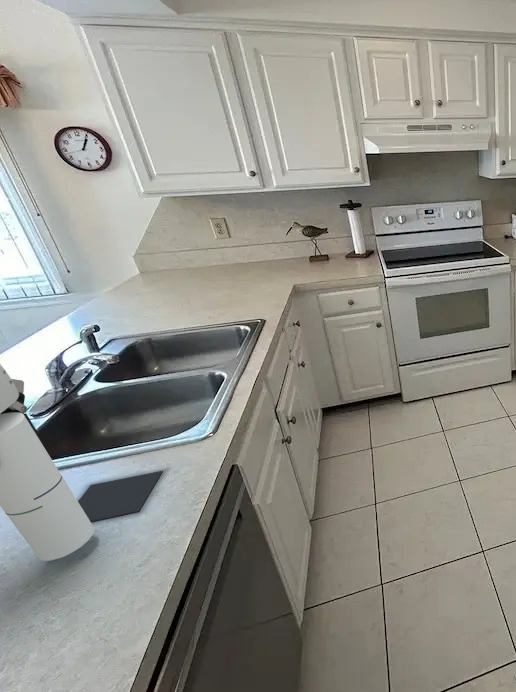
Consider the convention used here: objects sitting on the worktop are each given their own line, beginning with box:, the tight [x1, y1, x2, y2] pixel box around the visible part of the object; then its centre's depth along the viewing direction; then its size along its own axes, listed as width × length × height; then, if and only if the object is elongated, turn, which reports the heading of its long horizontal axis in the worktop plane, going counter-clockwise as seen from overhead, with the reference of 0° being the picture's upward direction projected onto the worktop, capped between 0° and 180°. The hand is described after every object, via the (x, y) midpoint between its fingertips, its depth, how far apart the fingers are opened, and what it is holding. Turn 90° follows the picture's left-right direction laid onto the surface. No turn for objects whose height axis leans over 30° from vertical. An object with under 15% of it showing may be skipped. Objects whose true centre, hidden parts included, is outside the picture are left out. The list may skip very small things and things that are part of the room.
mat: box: [77, 470, 164, 523], centre depth 83 cm, size 13×11×1 cm
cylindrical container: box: [0, 412, 95, 562], centre depth 66 cm, size 7×7×25 cm
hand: (6, 452), depth 63 cm, fingers closed on cylindrical container, 7 cm apart
